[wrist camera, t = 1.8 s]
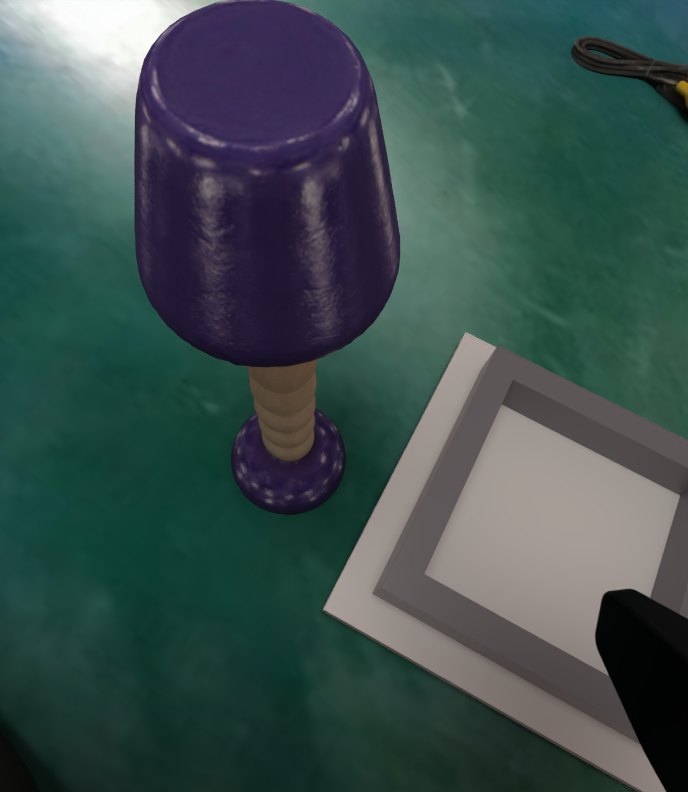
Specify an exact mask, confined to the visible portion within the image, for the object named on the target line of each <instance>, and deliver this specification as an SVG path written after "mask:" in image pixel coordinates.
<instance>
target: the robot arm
mask: <svg viewBox="0 0 688 792" xmlns="http://www.w3.org/2000/svg"><path fill="white" fill-rule="evenodd" d="M595 642H596V646H597V650H598V652H599V655H600V657H601V659H602V661H603V663H604V666H605V668H606V670H607V672H608V675H609V677H610V679H611V681H612V683H613V686H614V688H615V690H616V692H617V694H618V697H619V699H620V701H621V703H622V705H623V708H624V710H625V712H626V714H627V717H628V719H629V721H630V723H631V725H632V728H633V730H634V732H635V734H636V736H637V738H638V740H639V743H640V745H641V747H642V749H643V751H644V753H645V755H646V757H647V758H648V760H649V762H650V764H651V766H652V768H653V769H654V771H655V773H656V775H657V777H658V778H659V780H660V782H661V784H662V785H663V787H664V789H665V791H666V792H688V619H687V618H686V617H684V616H682V615H680V614H678V613H677V612H675V611H673V610H671V609H669V608H668V607H666V606H664V605H662V604H660V603H658V602H657V601H655V600H653V599H651V598H649V597H648V596H646V595H644V594H642V593H640V592H639V591H636V590H634V589H619V590H610V591H607V592H605V593H604V595H603V596H602V599H601V604H600V609H599V614H598V620H597V625H596V630H595Z"/></svg>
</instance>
